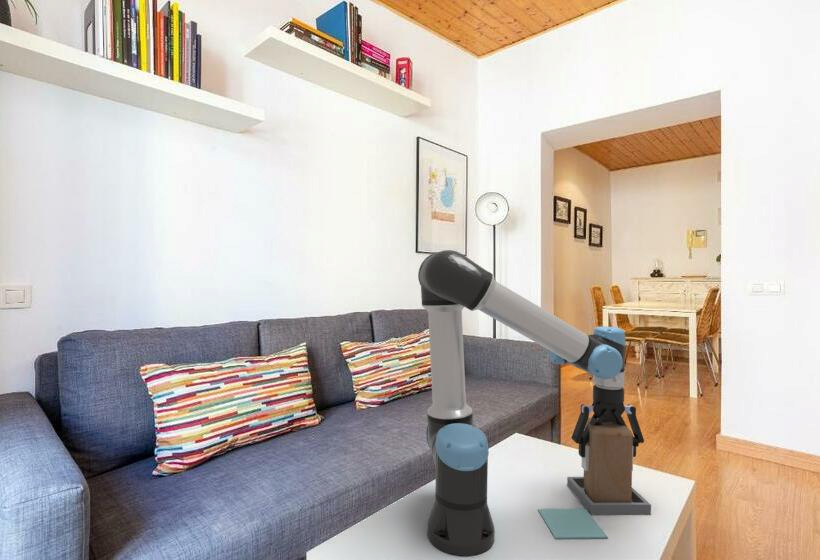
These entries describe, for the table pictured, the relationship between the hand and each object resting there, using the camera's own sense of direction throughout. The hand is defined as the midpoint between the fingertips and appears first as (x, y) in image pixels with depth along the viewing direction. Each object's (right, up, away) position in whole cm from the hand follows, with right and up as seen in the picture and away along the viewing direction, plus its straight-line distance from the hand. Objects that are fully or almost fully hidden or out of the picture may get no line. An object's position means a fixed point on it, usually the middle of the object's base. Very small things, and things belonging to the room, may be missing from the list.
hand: (606, 468), depth 116 cm
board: (-14, -8, -11) cm, 20 cm away
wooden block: (0, -8, 0) cm, 8 cm away
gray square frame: (0, -8, 0) cm, 8 cm away
